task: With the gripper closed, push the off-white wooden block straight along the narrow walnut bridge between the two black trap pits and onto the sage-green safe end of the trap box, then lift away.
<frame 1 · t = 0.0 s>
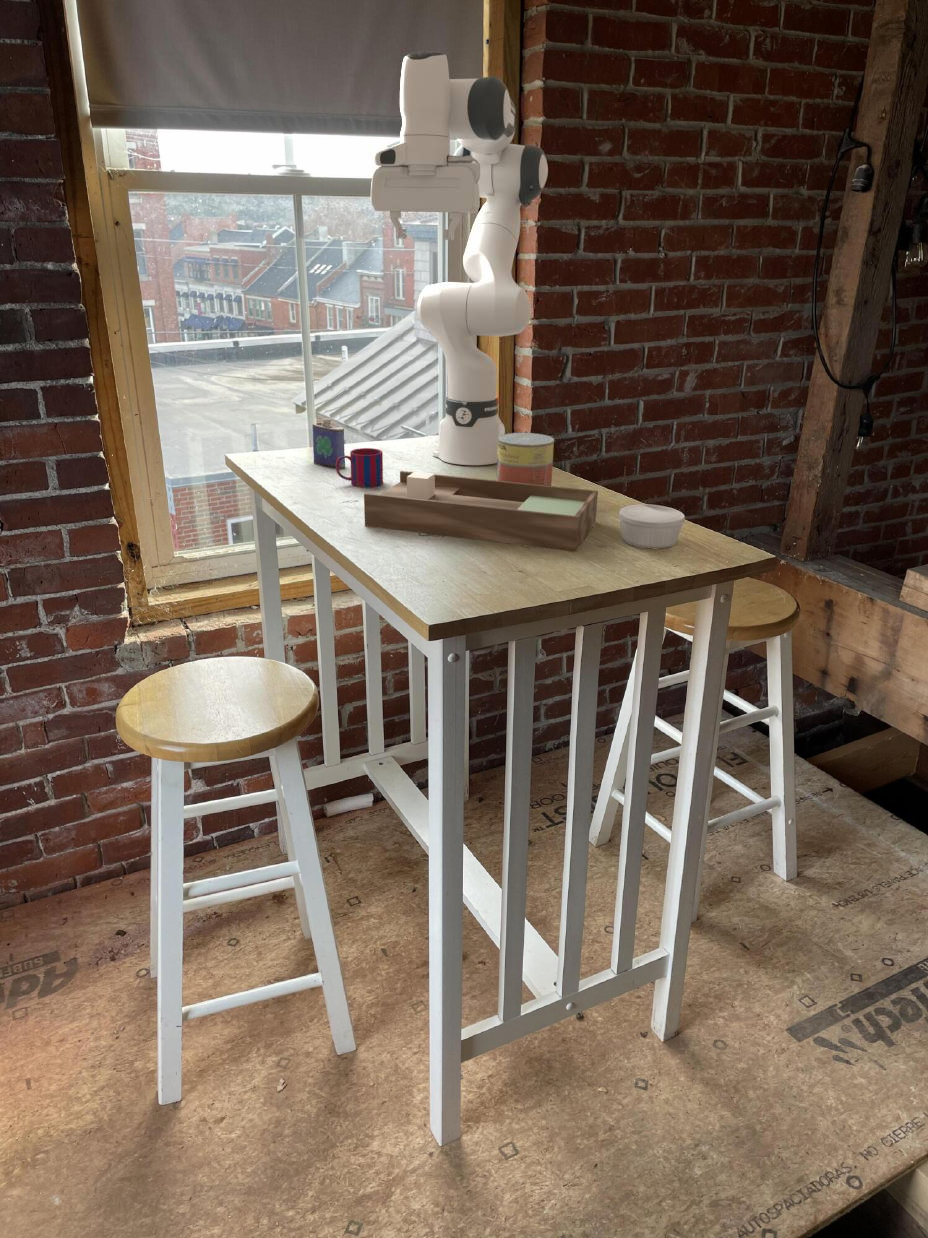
hand: (425, 239, 168), 48 cm above the table, fingers open, 8 cm apart
mug: (359, 484, 192), on the table
block: (420, 496, 169), point 4 cm above the table, touching trap box
ramekin: (649, 542, 160), on the table
trap box: (481, 523, 167), on the table
canned food: (523, 498, 185), on the table
flask: (328, 466, 206), on the table
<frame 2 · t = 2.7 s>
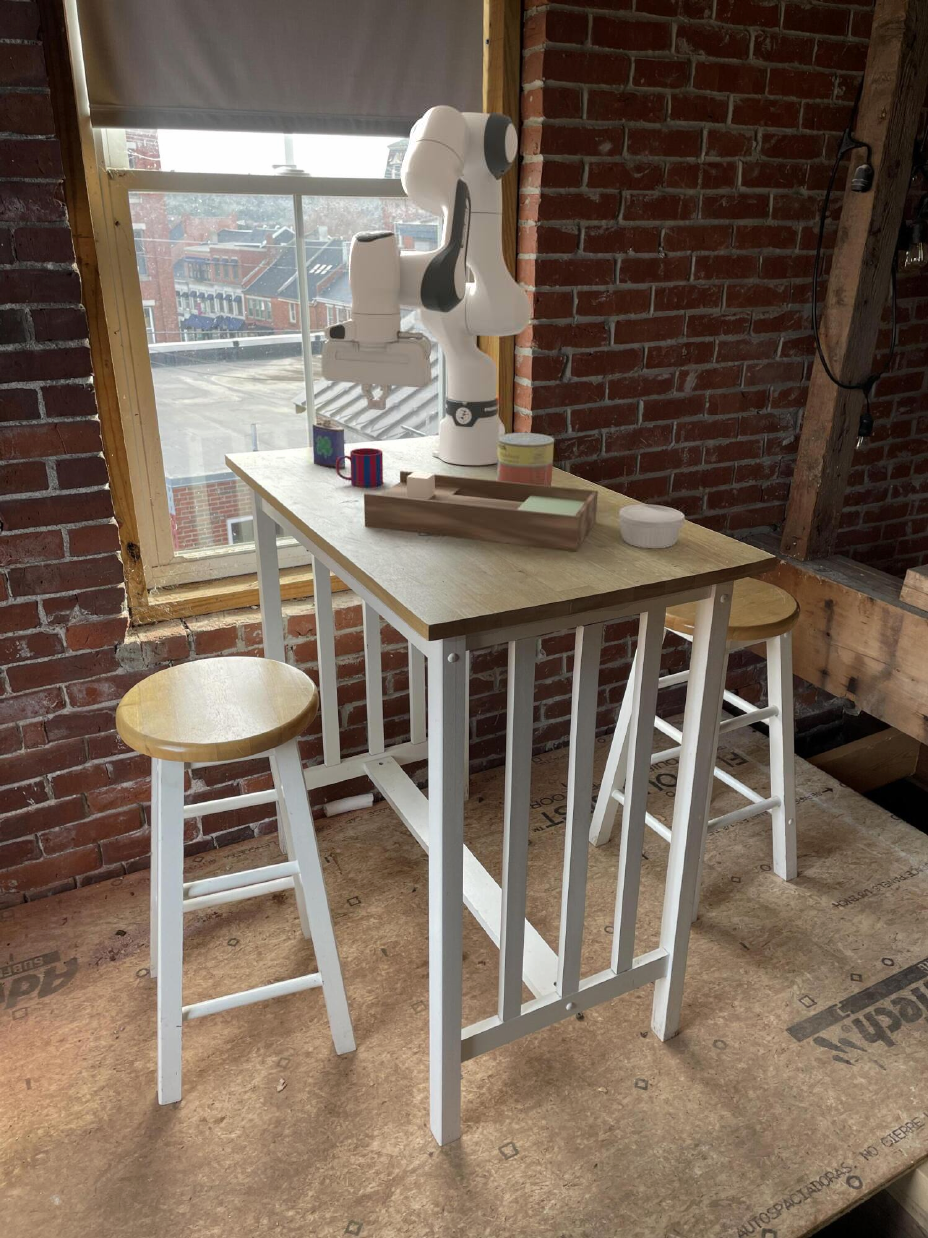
hand: (376, 409, 165), 19 cm above the table, fingers closed
nothing on the table moved.
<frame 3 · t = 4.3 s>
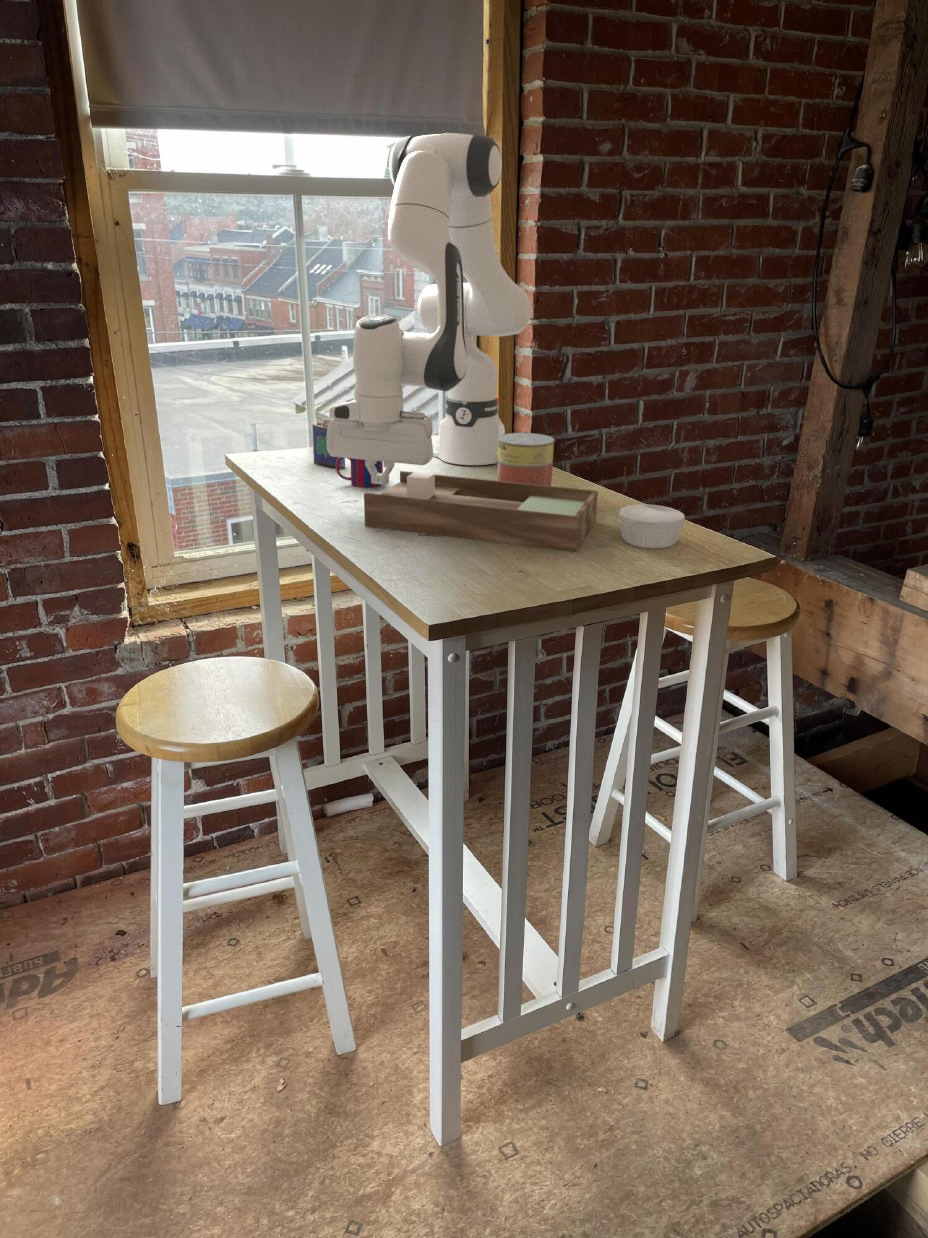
hand: (380, 483, 171), 6 cm above the table, fingers closed
nothing on the table moved.
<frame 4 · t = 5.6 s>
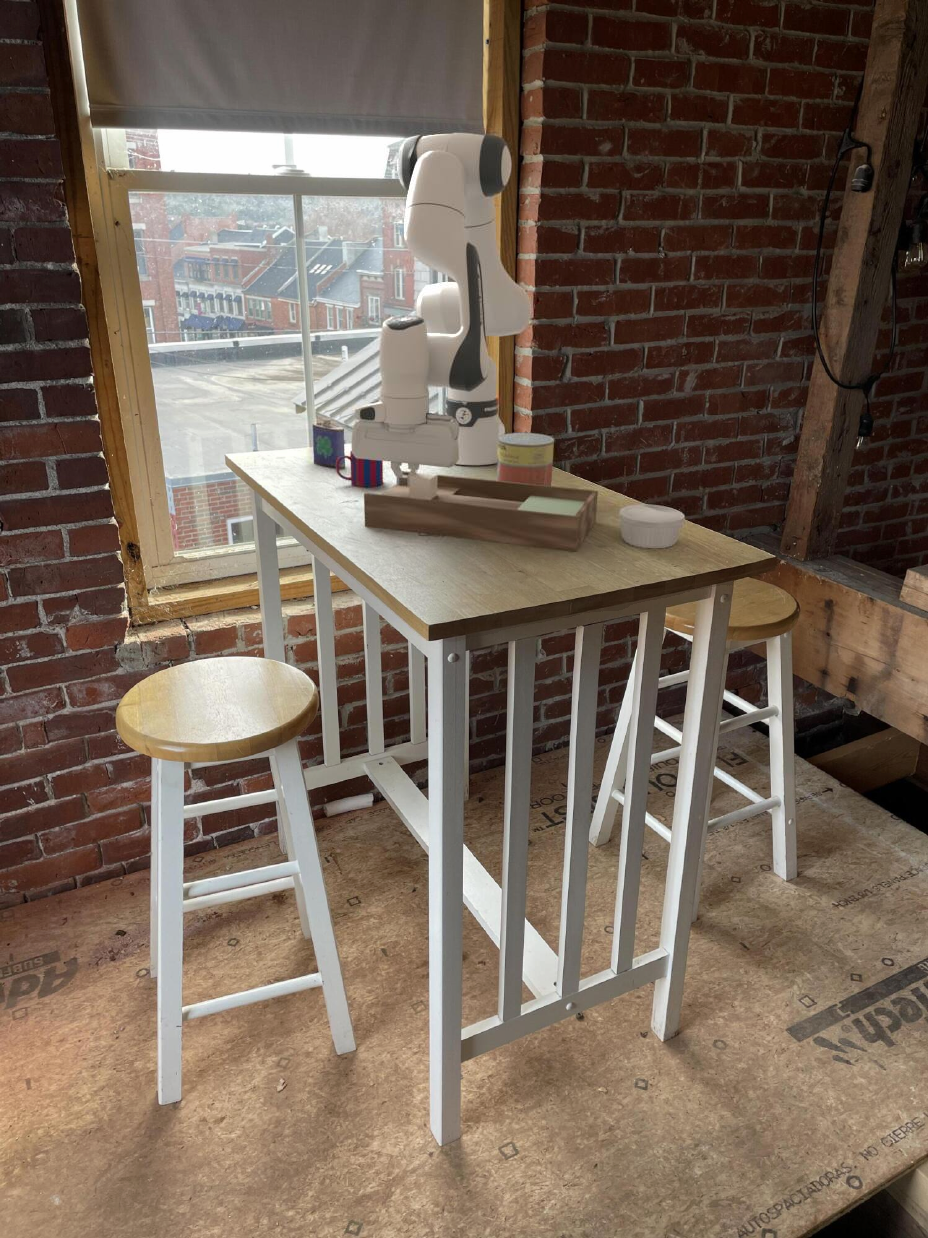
hand: (405, 485, 169), 6 cm above the table, fingers closed
block: (423, 496, 169), point 4 cm above the table, touching gripper, trap box
everything else where it was.
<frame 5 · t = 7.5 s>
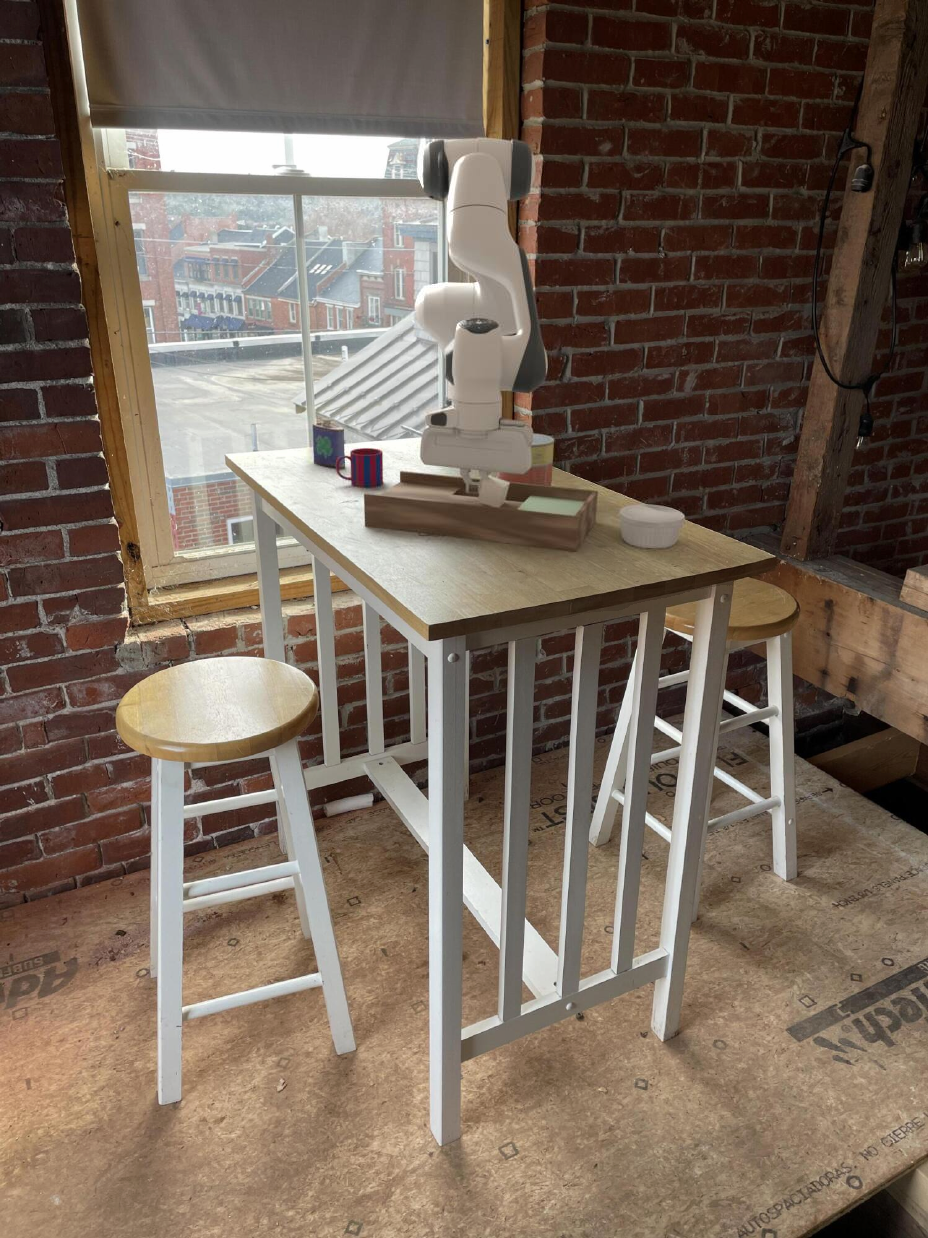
hand: (474, 492, 165), 6 cm above the table, fingers closed
block: (491, 502, 165), point 4 cm above the table, tilted 13°, touching gripper, trap box
everything else where it was.
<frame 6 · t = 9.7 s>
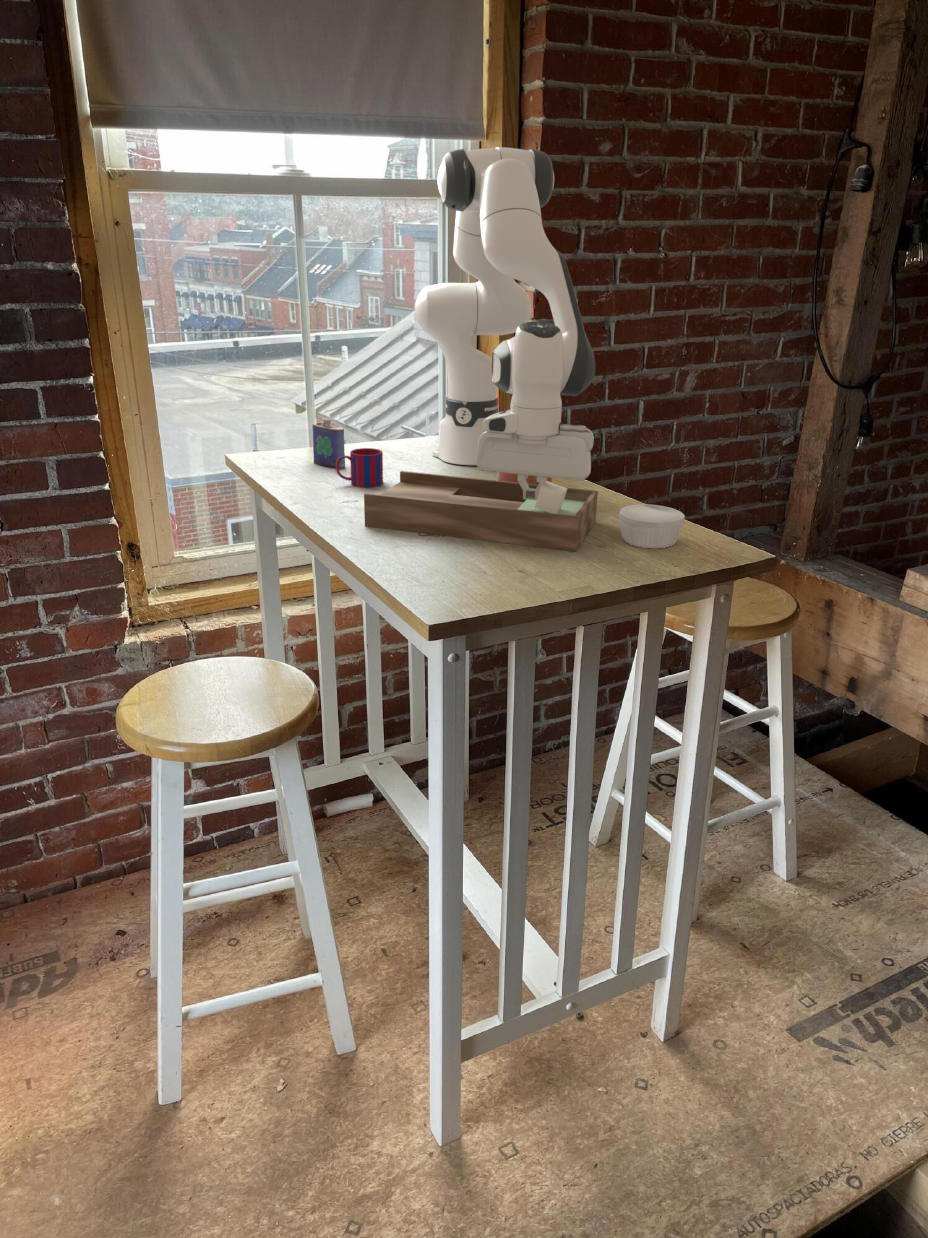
hand: (531, 499, 162), 6 cm above the table, fingers closed
block: (547, 508, 162), point 4 cm above the table, tilted 14°, touching gripper, trap box
everything else where it was.
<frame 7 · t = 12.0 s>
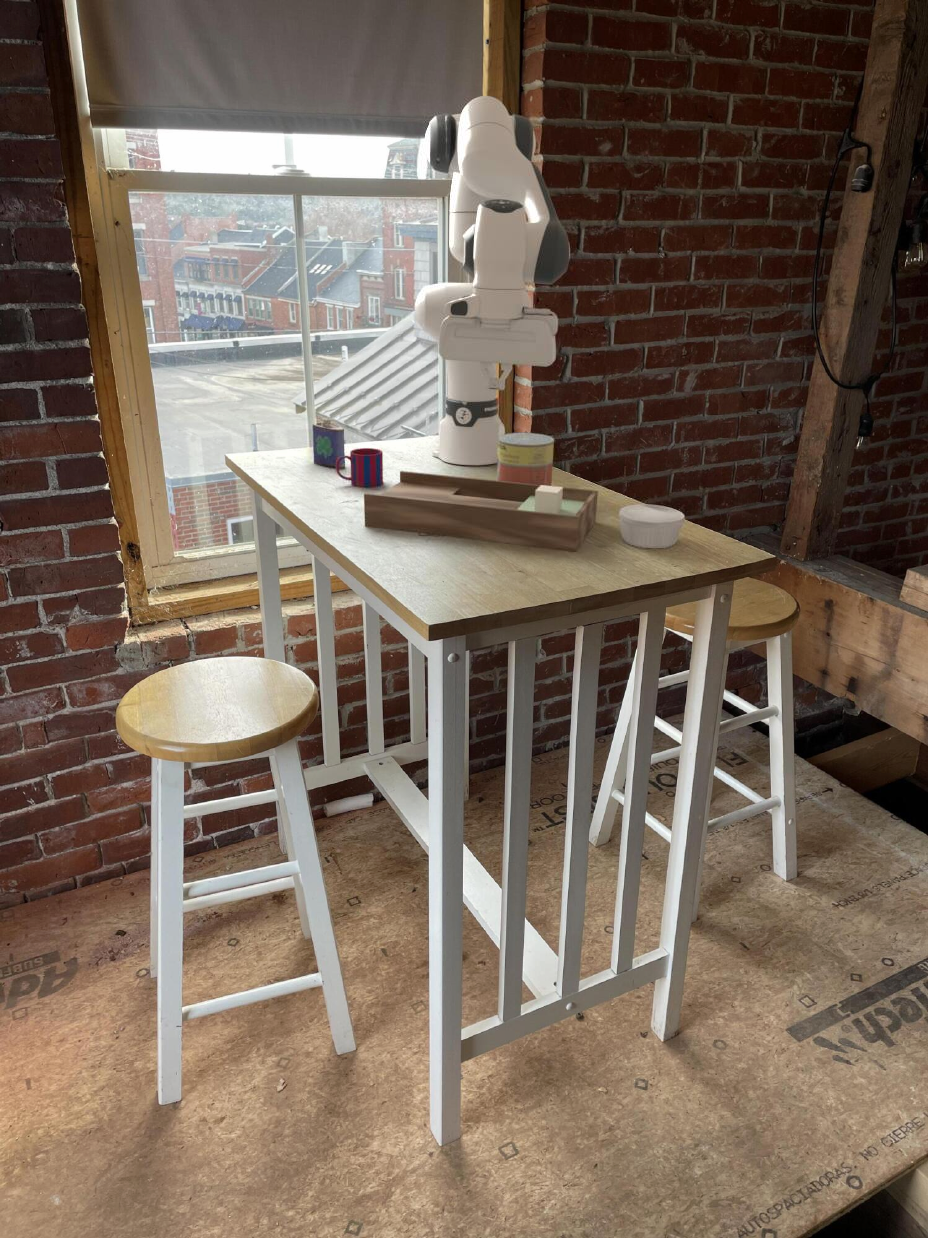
hand: (495, 389, 158), 24 cm above the table, fingers closed
block: (548, 510, 162), point 4 cm above the table, touching trap box
everything else where it was.
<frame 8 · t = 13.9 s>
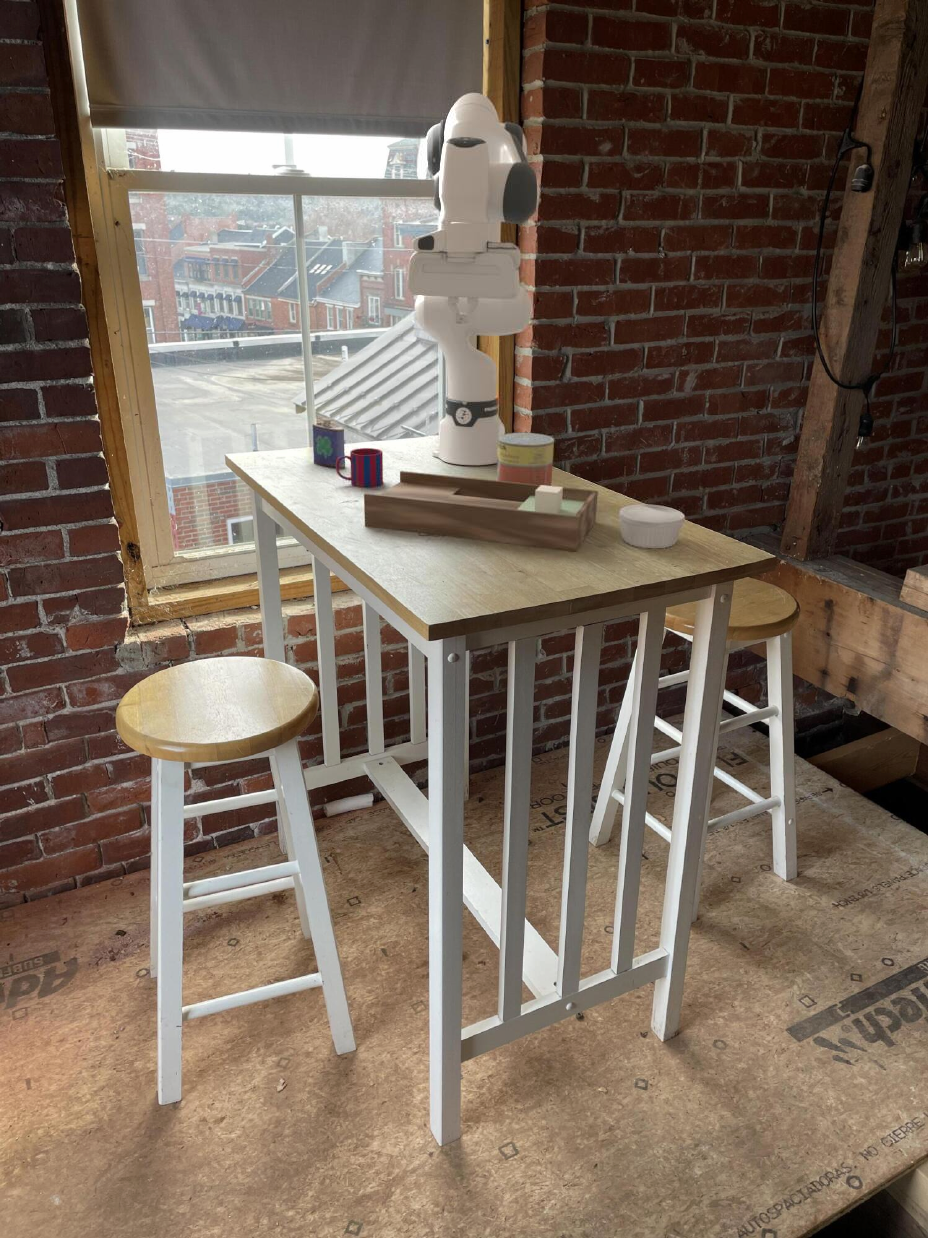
hand: (462, 323, 164), 34 cm above the table, fingers closed
nothing on the table moved.
at the end: block inside the target area (0.9 cm from its centre), point 4.0 cm above the table; block tilted 0° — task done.
